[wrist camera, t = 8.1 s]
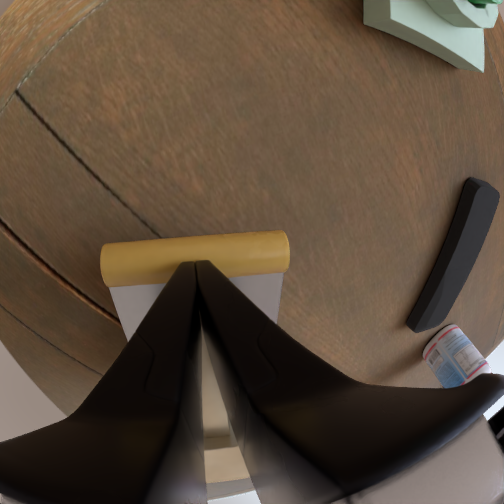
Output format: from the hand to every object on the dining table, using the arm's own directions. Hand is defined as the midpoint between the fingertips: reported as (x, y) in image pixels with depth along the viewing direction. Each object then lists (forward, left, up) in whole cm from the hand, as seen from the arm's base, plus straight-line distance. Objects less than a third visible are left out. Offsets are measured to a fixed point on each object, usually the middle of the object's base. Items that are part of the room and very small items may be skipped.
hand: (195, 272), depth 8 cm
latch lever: (+5, 0, 0) cm, 5 cm away
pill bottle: (+18, +28, -6) cm, 34 cm away
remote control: (+5, +21, -5) cm, 22 cm away
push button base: (-15, +12, -5) cm, 20 cm away
